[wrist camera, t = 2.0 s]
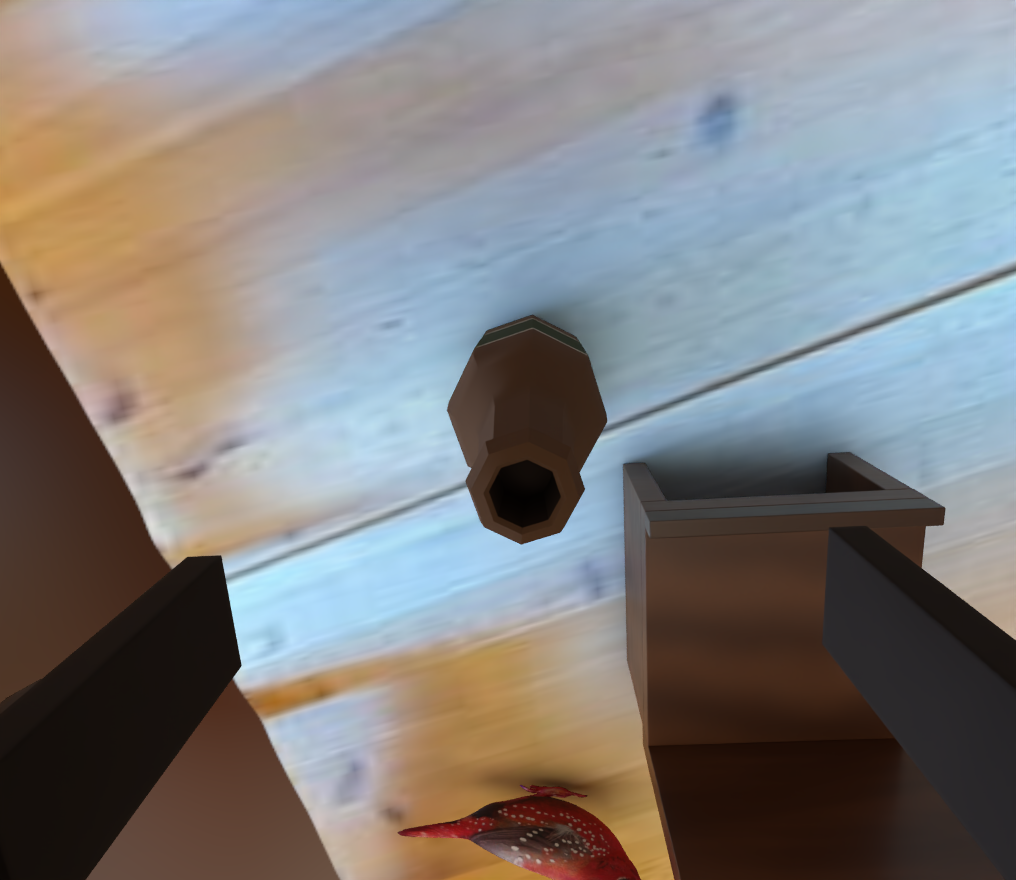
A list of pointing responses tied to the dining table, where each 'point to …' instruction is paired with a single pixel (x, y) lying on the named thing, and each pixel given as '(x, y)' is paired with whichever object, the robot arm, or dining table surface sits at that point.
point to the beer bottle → (526, 426)
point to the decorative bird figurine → (542, 837)
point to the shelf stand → (773, 689)
